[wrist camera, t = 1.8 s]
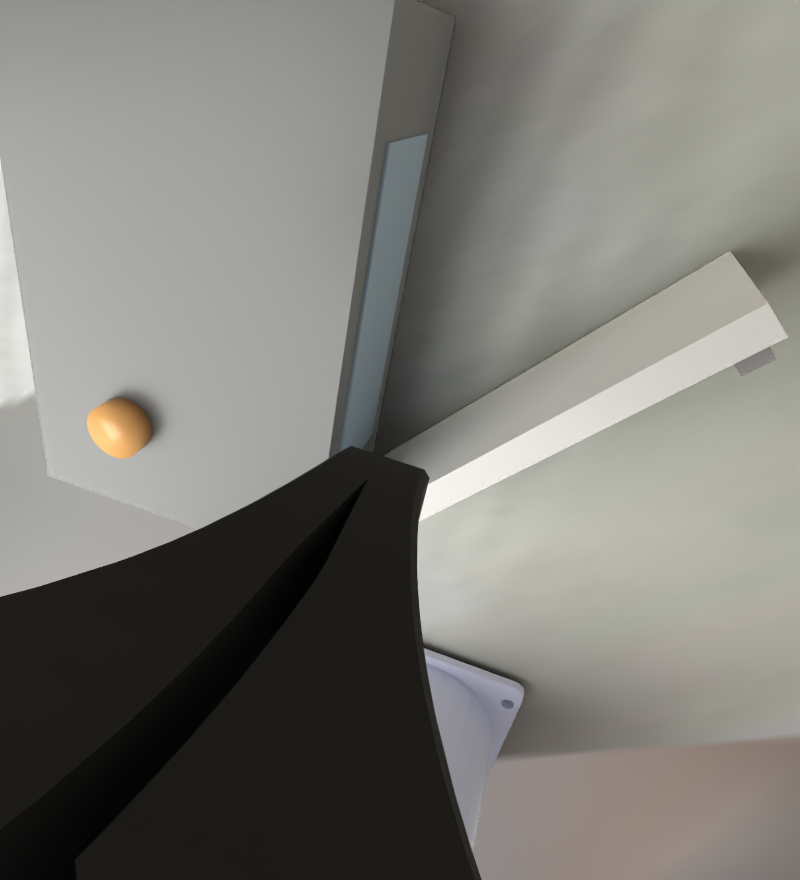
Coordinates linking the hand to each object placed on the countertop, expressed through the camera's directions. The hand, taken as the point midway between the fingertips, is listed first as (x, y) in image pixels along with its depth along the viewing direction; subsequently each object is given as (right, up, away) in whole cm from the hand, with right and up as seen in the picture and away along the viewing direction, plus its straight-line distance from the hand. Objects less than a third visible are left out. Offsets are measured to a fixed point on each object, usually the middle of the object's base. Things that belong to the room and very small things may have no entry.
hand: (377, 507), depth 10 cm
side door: (+4, +2, +9) cm, 10 cm away
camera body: (-4, +7, +9) cm, 12 cm away
